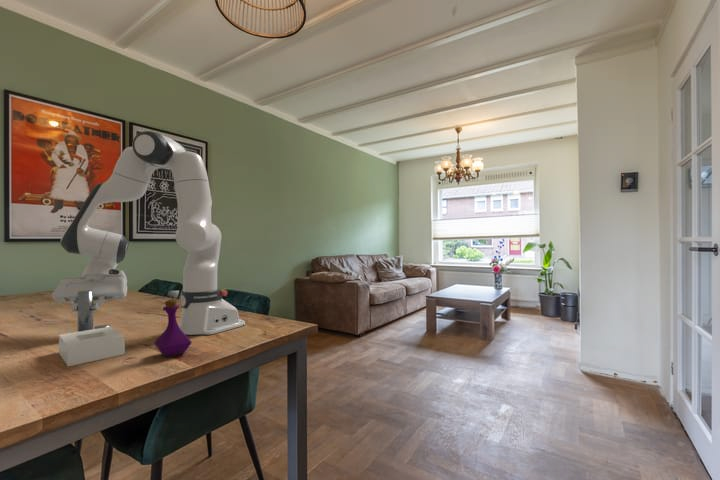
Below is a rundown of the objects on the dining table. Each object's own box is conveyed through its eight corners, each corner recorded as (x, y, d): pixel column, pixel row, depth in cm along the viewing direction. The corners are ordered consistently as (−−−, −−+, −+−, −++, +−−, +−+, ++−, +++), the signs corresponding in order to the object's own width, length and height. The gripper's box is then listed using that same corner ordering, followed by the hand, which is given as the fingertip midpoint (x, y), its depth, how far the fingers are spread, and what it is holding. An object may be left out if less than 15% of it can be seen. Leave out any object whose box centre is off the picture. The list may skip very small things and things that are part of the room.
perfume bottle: (153, 354, 92) (153, 290, 92) (182, 348, 97) (182, 287, 97) (162, 361, 87) (162, 293, 87) (191, 354, 92) (192, 290, 92)
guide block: (110, 342, 102) (110, 326, 102) (124, 354, 92) (124, 336, 92) (58, 352, 93) (58, 334, 93) (67, 366, 83) (67, 346, 83)
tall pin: (91, 333, 111) (91, 290, 111) (94, 336, 109) (94, 291, 109) (76, 336, 108) (76, 291, 108) (78, 338, 106) (78, 292, 106)
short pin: (108, 337, 108) (109, 323, 108) (112, 340, 105) (112, 326, 105) (93, 340, 105) (93, 326, 105) (96, 342, 102) (96, 328, 102)
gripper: (58, 272, 112) (40, 306, 103) (128, 270, 118) (118, 302, 109) (65, 283, 116) (49, 317, 107) (132, 281, 123) (122, 313, 113)
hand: (84, 310), depth 108 cm, fingers closed on tall pin, 4 cm apart
